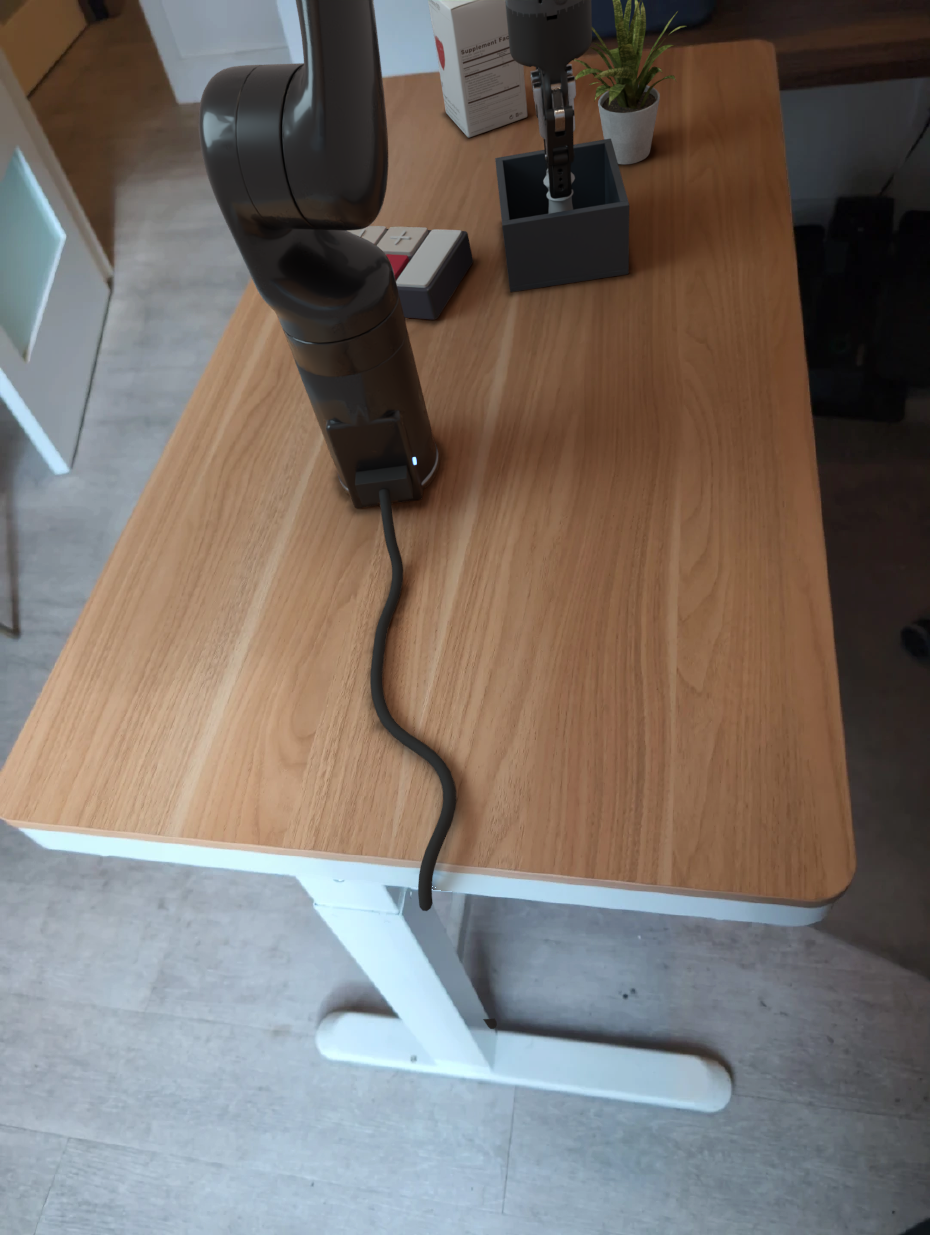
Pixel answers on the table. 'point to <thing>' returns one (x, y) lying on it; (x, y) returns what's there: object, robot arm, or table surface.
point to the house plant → (628, 86)
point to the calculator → (423, 264)
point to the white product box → (477, 64)
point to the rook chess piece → (558, 203)
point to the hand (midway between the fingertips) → (558, 184)
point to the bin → (564, 219)
